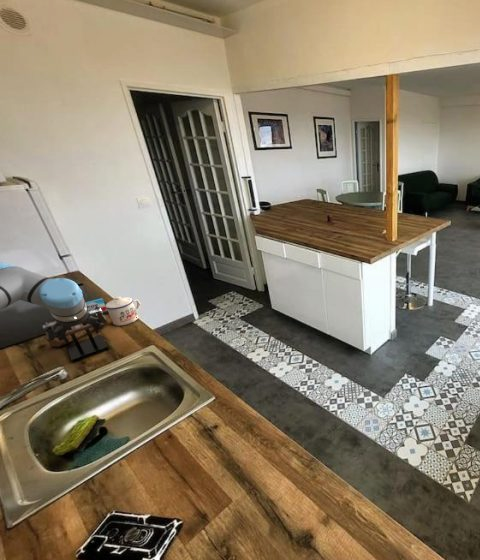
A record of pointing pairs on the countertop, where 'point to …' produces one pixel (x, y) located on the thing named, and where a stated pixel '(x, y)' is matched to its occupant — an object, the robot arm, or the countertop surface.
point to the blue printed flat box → (96, 305)
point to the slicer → (86, 346)
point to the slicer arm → (78, 329)
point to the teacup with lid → (122, 310)
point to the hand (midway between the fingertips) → (81, 334)
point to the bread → (69, 337)
